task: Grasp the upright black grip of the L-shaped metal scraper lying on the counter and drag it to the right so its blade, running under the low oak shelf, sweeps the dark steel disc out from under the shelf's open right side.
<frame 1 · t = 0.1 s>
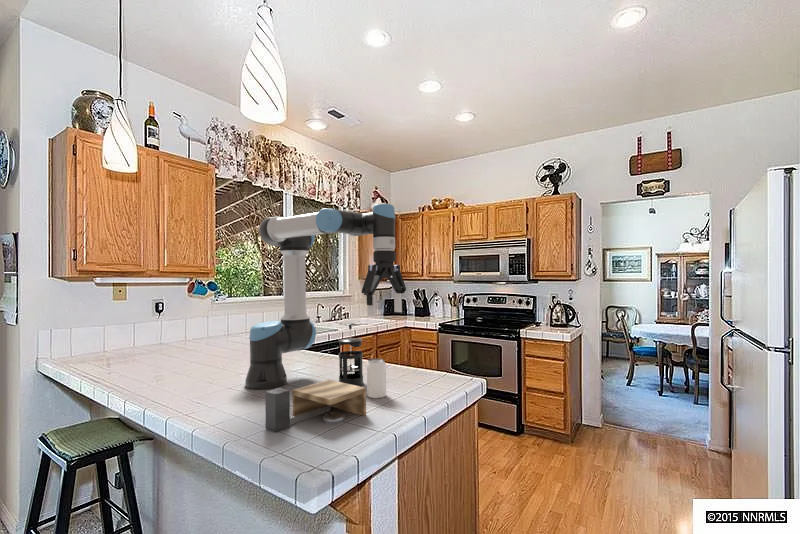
hand: (385, 313, 135), 28 cm above the countertop, fingers open, 13 cm apart
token: (334, 420, 115), on the countertop
tool: (277, 428, 109), on the countertop
french press: (351, 385, 152), on the countertop
can: (376, 396, 137), on the countertop
shelf: (329, 416, 118), on the countertop
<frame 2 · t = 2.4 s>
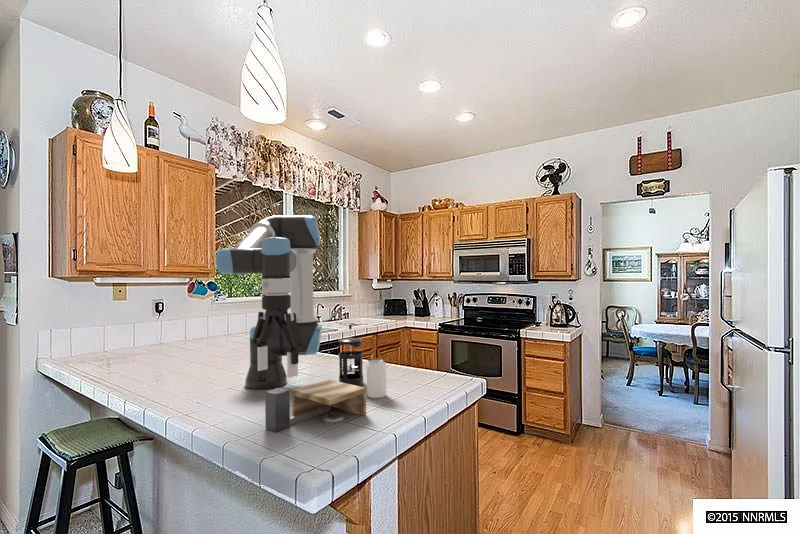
hand: (277, 373, 109), 15 cm above the countertop, fingers open, 13 cm apart
nothing on the countertop moved.
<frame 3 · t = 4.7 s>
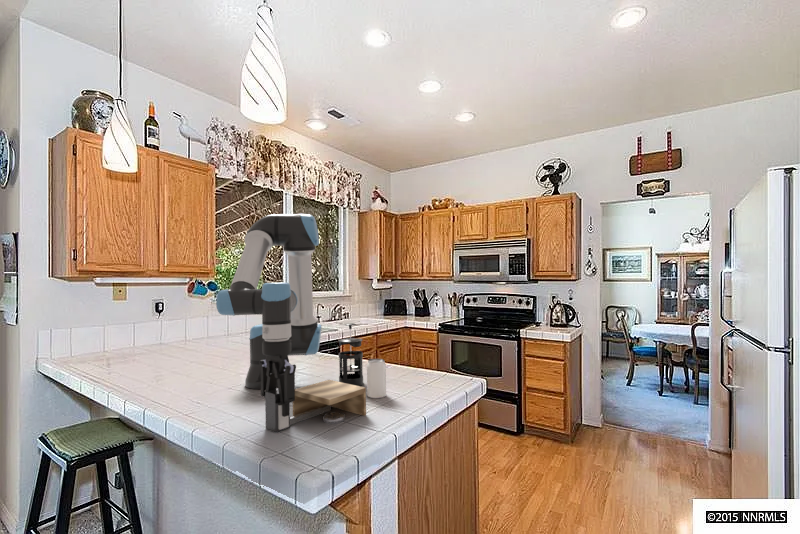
hand: (277, 425, 109), 1 cm above the countertop, fingers closed on tool, 4 cm apart
tool: (277, 428, 109), on the countertop, touching gripper
everything else where it was.
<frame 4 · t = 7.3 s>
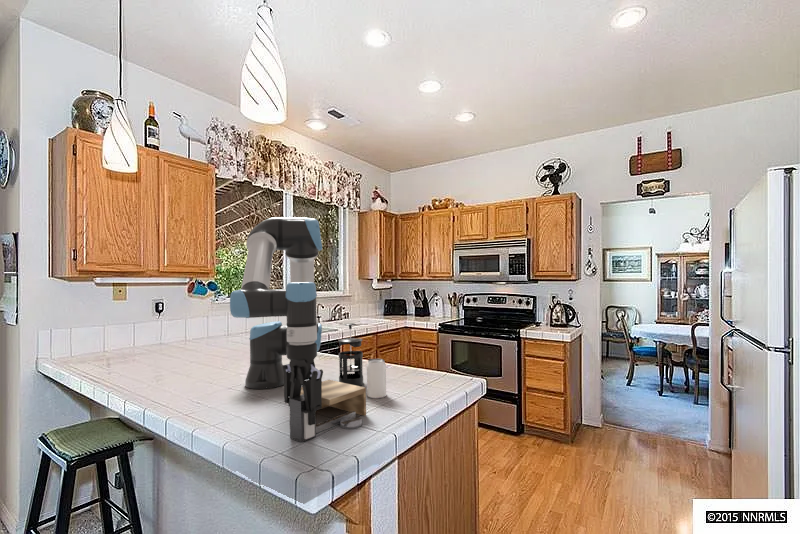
hand: (302, 434, 102), 1 cm above the countertop, fingers closed on tool, 4 cm apart
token: (351, 425, 111), on the countertop
tool: (302, 437, 102), on the countertop, touching gripper
everything else where it was.
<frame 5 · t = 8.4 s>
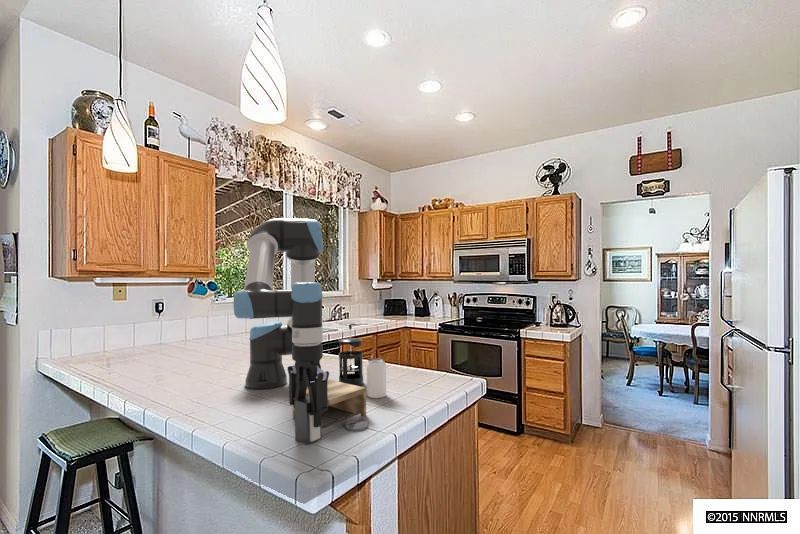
hand: (308, 436, 101), 1 cm above the countertop, fingers closed on tool, 4 cm apart
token: (356, 427, 110), on the countertop
tool: (308, 439, 101), on the countertop, touching gripper
everything else where it was.
when the fingers open (1 cm above the countertop, at t = 9.2 s): tool stays where it is, on the countertop.
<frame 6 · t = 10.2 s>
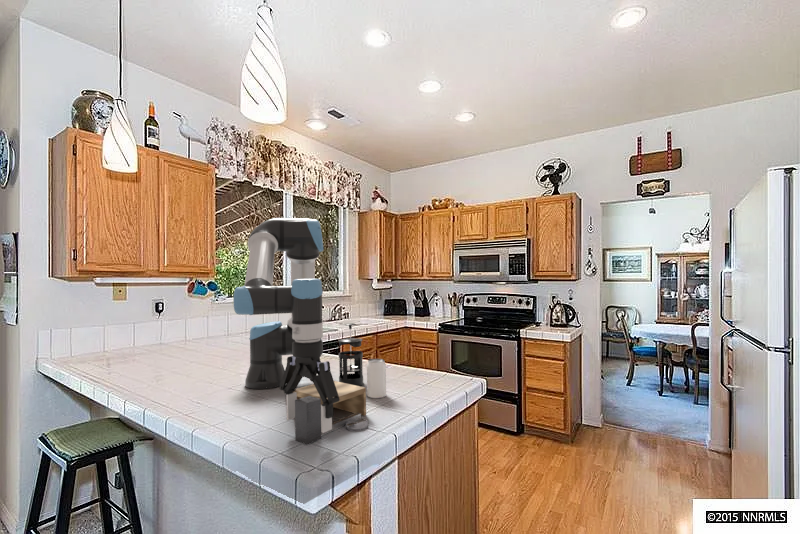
hand: (308, 424, 101), 4 cm above the countertop, fingers open, 13 cm apart
tool: (308, 439, 101), on the countertop
everything else where it was.
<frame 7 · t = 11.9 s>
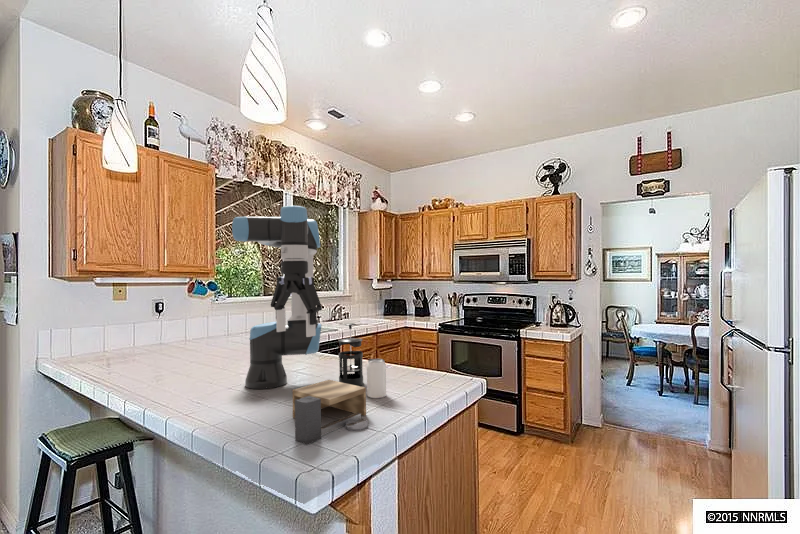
hand: (295, 333, 117), 24 cm above the countertop, fingers open, 13 cm apart
nothing on the countertop moved.
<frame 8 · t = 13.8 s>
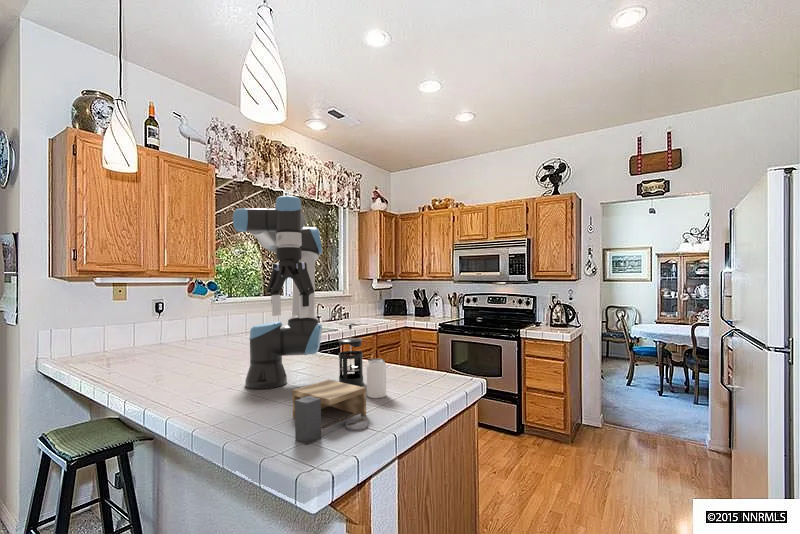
hand: (289, 316, 123), 29 cm above the countertop, fingers open, 13 cm apart
nothing on the countertop moved.
at the end: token inside the target area (5.1 cm from its centre), on the countertop; the gripper is holding nothing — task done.
